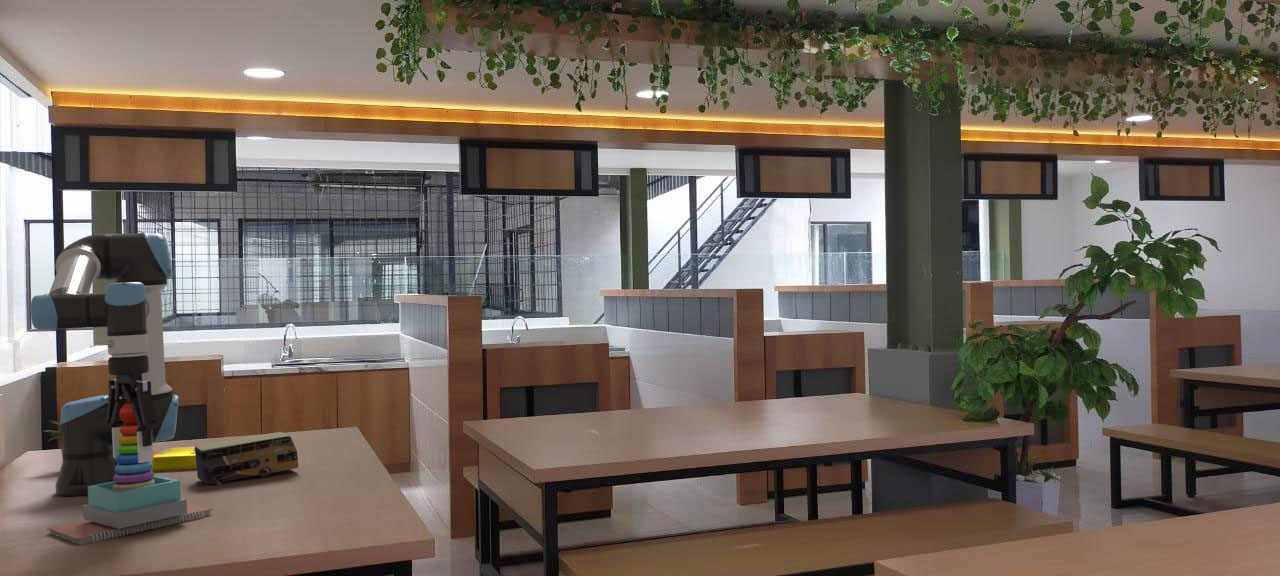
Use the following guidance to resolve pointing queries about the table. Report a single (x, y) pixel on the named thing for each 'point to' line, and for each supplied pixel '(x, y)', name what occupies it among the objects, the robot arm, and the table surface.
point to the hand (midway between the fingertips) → (133, 459)
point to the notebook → (95, 531)
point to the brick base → (135, 514)
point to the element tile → (174, 459)
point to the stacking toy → (130, 456)
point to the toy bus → (245, 457)
